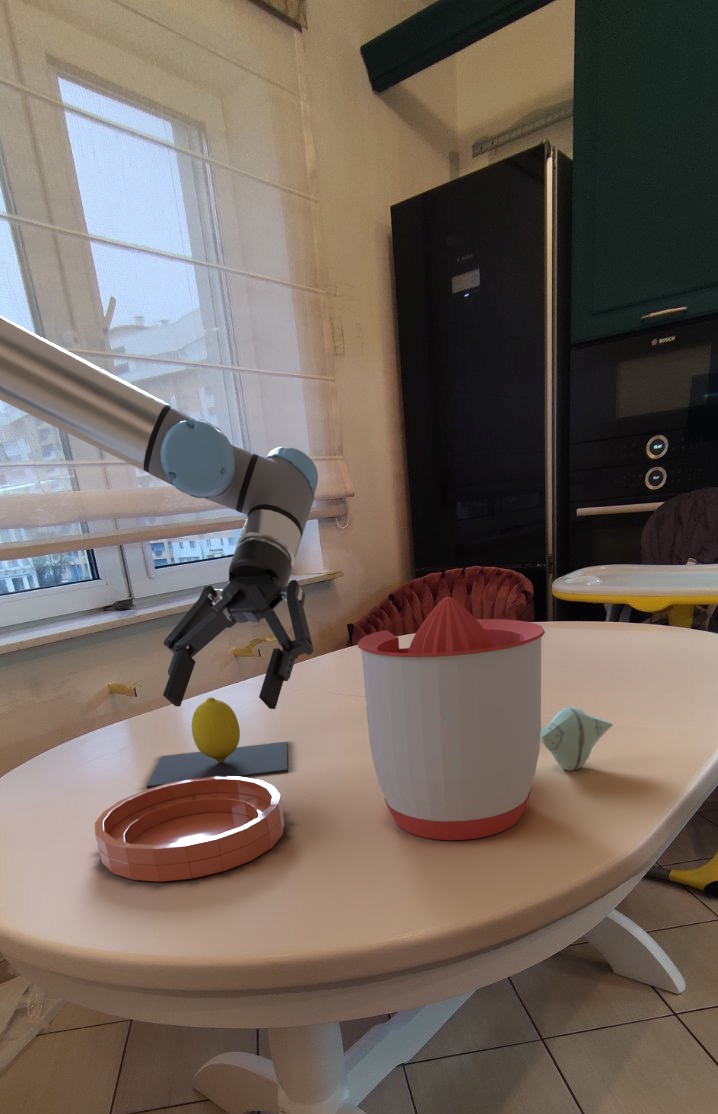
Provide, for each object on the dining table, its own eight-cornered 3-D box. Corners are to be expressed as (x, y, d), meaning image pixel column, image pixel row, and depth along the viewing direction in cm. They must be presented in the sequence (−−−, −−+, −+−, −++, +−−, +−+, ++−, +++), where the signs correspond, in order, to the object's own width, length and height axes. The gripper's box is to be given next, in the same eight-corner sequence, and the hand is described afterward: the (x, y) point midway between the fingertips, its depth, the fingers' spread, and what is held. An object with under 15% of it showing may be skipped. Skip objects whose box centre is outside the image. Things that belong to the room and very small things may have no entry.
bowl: (65, 863, 66) (56, 828, 64) (198, 798, 78) (192, 768, 77) (192, 903, 57) (184, 864, 55) (320, 823, 69) (315, 789, 68)
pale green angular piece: (545, 783, 73) (545, 718, 71) (526, 770, 77) (526, 709, 74) (615, 769, 75) (618, 706, 72) (593, 758, 79) (595, 697, 76)
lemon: (247, 764, 86) (237, 698, 83) (200, 773, 84) (188, 706, 81) (241, 752, 91) (231, 689, 88) (196, 759, 89) (184, 696, 86)
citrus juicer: (480, 771, 78) (475, 579, 71) (579, 829, 63) (585, 591, 55) (344, 801, 74) (323, 599, 66) (415, 871, 58) (397, 618, 51)
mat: (147, 791, 82) (146, 786, 82) (162, 760, 92) (161, 756, 92) (288, 774, 83) (287, 769, 83) (287, 746, 93) (286, 741, 93)
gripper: (363, 571, 91) (323, 720, 84) (200, 581, 101) (152, 714, 94) (341, 529, 85) (296, 686, 78) (169, 544, 95) (116, 684, 88)
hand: (217, 702), depth 86 cm, fingers open, 13 cm apart
